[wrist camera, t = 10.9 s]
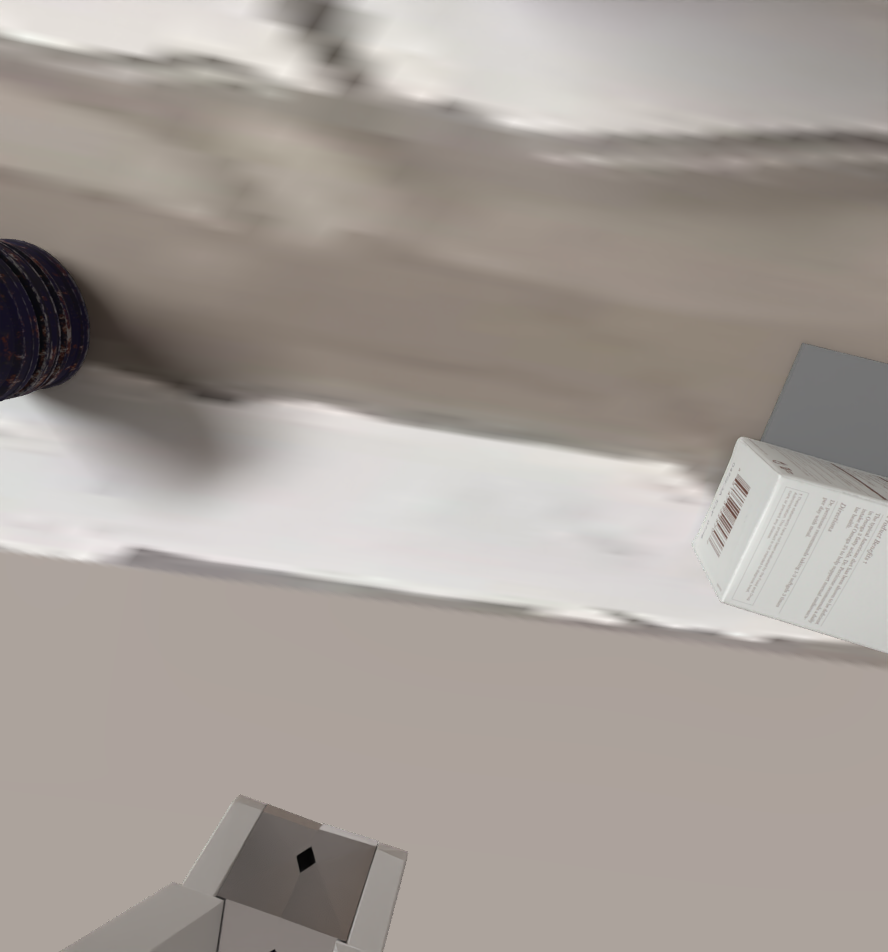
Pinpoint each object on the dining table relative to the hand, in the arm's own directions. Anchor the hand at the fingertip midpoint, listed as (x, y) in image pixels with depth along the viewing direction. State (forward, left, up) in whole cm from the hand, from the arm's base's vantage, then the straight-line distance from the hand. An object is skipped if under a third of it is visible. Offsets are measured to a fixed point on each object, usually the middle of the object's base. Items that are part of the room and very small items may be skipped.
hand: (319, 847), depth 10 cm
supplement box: (0, +13, -25) cm, 28 cm away
